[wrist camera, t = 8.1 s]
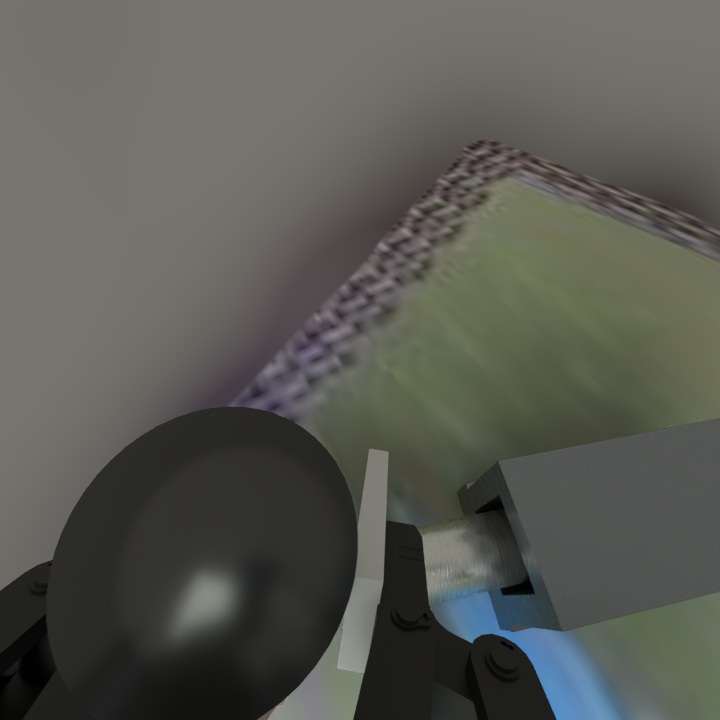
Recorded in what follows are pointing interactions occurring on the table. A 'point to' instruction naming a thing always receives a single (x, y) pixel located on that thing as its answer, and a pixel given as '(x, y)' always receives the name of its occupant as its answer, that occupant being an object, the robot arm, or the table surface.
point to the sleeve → (607, 526)
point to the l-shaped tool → (226, 569)
